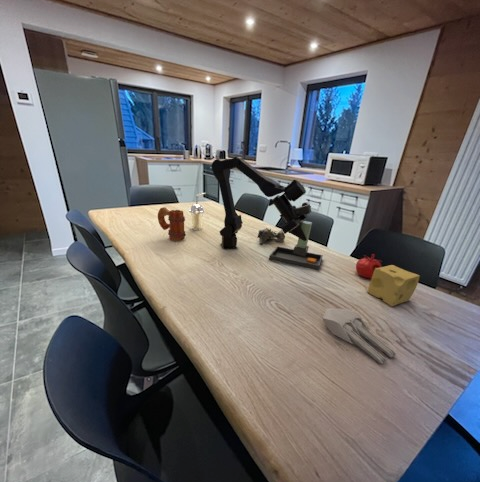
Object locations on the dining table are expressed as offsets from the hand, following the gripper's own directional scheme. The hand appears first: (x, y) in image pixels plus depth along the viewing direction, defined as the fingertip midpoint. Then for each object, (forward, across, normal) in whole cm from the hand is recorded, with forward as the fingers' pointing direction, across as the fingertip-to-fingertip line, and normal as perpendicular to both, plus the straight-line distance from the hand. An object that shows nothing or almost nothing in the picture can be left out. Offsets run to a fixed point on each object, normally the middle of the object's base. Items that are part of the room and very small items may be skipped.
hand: (306, 239), depth 109 cm
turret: (+26, -41, -9) cm, 49 cm away
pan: (+6, +2, +11) cm, 12 cm away
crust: (+10, +3, +5) cm, 12 cm away
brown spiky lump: (-7, +20, +24) cm, 32 cm away
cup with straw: (-37, +14, +54) cm, 67 cm away
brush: (+3, 0, +6) cm, 7 cm away
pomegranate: (+26, +5, -10) cm, 29 cm away
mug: (-37, -7, +54) cm, 66 cm away
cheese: (+32, -10, -16) cm, 37 cm away
